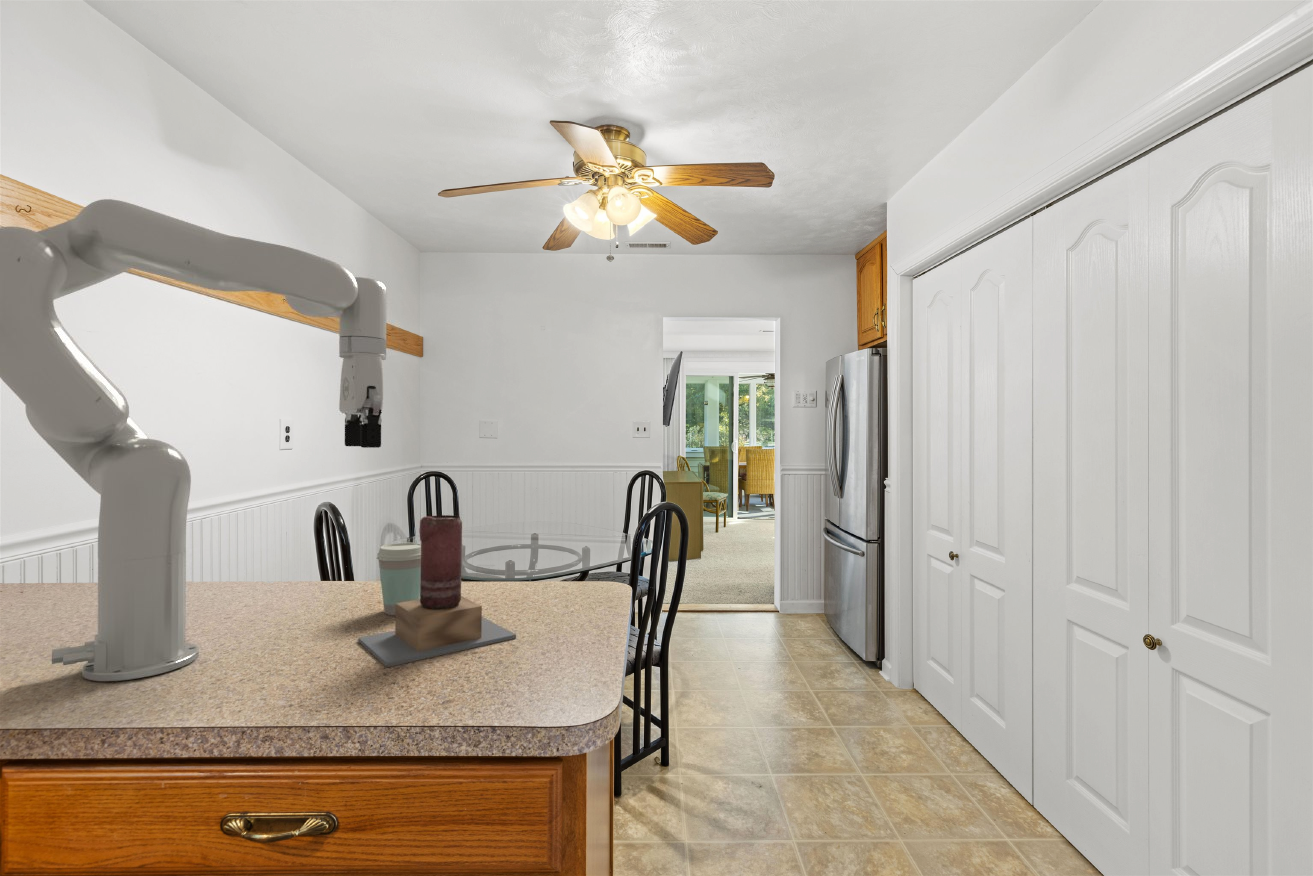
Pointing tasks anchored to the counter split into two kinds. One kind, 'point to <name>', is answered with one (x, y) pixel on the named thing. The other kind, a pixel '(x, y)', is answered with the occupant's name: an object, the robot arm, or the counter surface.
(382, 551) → the coffee cup
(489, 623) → the mat
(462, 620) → the block
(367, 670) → the counter surface
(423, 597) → the can
